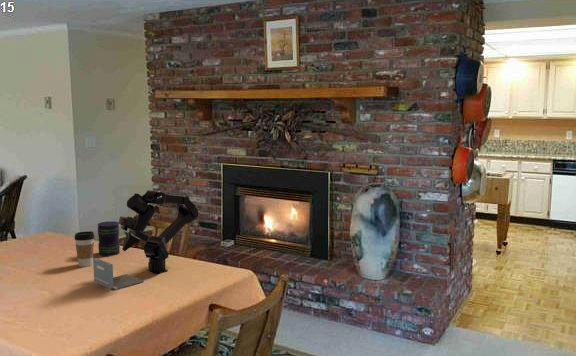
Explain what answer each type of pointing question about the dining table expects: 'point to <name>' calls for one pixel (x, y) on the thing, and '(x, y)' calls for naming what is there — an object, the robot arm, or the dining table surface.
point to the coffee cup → (84, 248)
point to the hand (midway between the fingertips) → (123, 250)
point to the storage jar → (108, 238)
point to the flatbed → (125, 281)
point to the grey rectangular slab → (103, 273)
